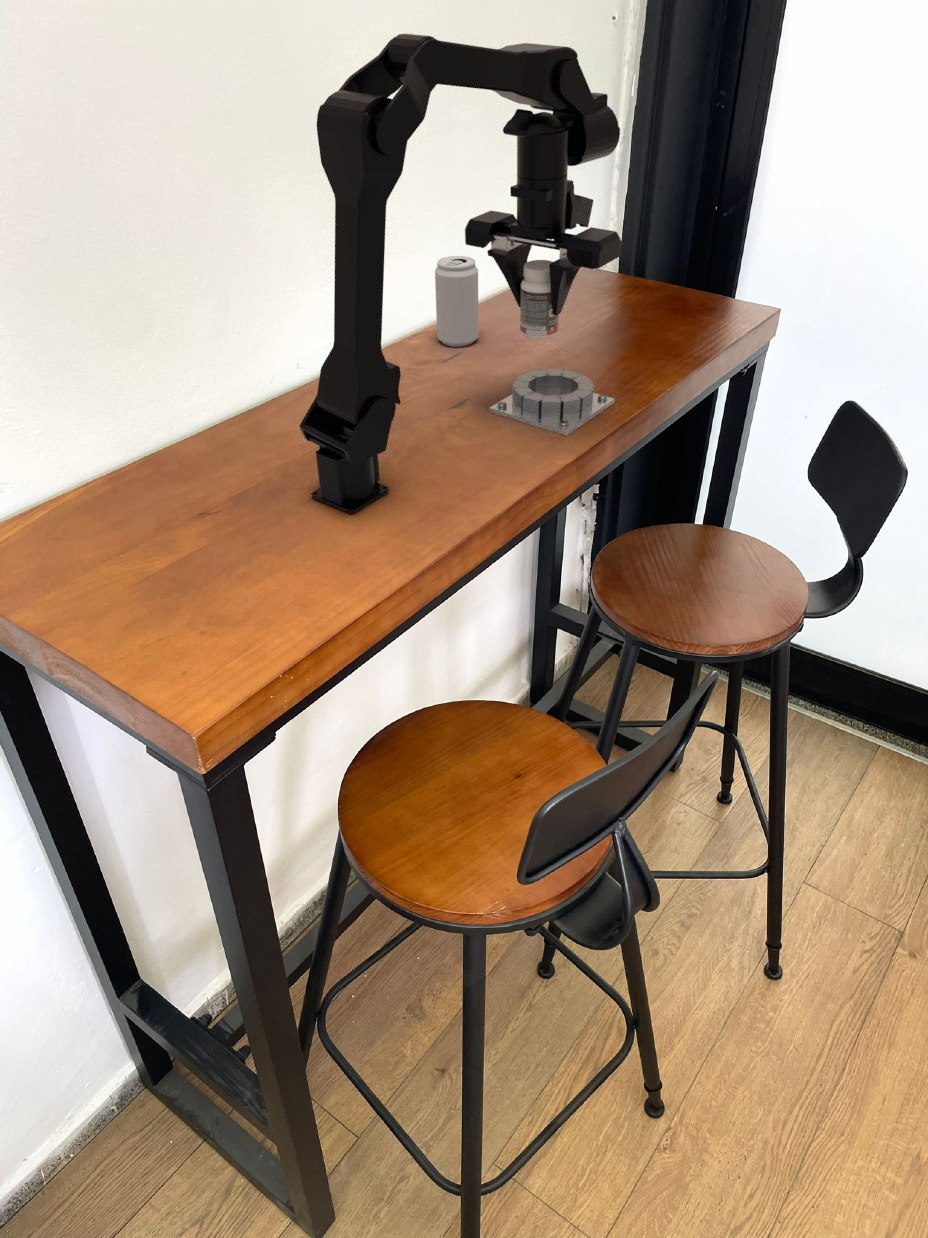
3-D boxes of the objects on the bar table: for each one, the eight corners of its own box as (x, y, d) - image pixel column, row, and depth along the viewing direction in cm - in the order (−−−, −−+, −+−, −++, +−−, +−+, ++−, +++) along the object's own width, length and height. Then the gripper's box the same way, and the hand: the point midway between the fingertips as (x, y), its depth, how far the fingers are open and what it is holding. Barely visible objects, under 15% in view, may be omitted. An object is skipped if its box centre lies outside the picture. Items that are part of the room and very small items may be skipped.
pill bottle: (555, 340, 114) (558, 272, 109) (517, 339, 115) (518, 270, 109) (559, 326, 117) (562, 259, 112) (523, 324, 118) (524, 257, 113)
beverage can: (486, 337, 143) (486, 258, 136) (464, 351, 139) (462, 269, 132) (451, 330, 146) (450, 251, 139) (429, 343, 142) (426, 263, 135)
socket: (566, 435, 116) (567, 412, 114) (489, 411, 122) (489, 389, 120) (614, 402, 124) (616, 380, 122) (539, 381, 130) (540, 360, 128)
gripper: (649, 168, 105) (638, 304, 115) (513, 150, 114) (513, 278, 124) (600, 190, 98) (592, 333, 108) (460, 170, 107) (464, 303, 117)
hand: (539, 310), depth 114 cm, fingers closed on pill bottle, 5 cm apart
